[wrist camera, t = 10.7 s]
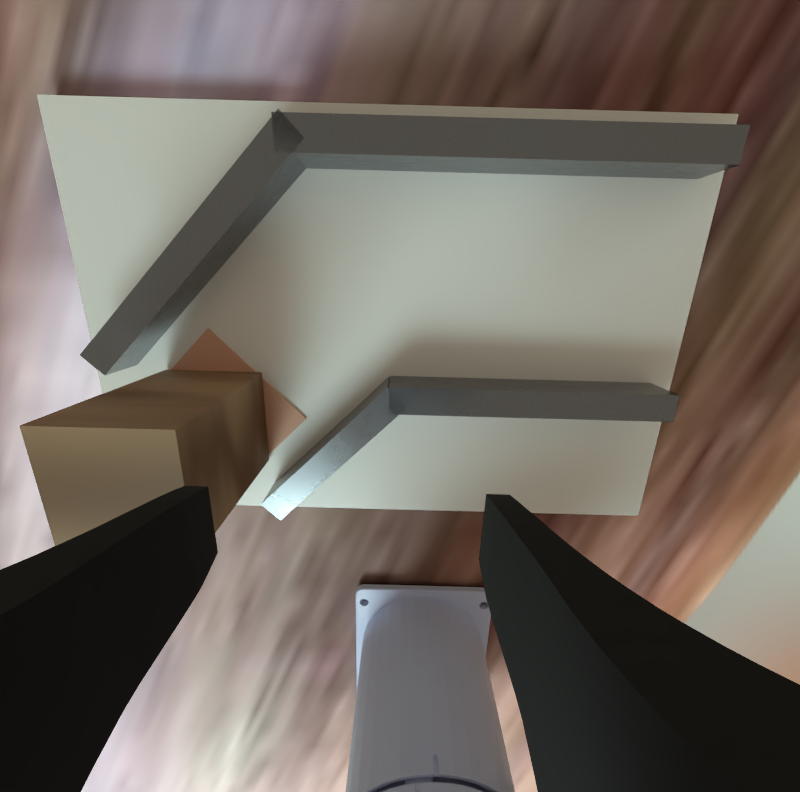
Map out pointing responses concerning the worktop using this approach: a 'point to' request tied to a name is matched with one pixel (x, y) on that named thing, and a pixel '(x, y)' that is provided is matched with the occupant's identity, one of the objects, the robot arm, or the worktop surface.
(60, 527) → the walnut block
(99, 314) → the channel board
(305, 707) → the worktop surface
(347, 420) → the rails
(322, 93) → the worktop surface
